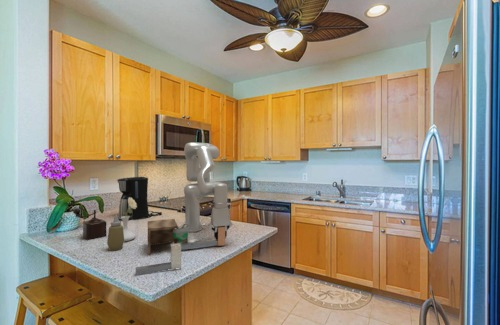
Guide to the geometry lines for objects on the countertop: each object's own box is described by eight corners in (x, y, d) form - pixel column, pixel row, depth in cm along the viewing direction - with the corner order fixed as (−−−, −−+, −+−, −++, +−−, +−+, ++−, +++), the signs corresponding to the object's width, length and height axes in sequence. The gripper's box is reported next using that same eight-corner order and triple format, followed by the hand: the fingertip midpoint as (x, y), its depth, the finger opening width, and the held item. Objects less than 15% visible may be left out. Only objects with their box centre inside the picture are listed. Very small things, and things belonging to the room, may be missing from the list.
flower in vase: (124, 244, 136) (124, 199, 136) (109, 241, 140) (109, 198, 140) (142, 237, 148) (142, 196, 148) (128, 235, 152) (128, 195, 152)
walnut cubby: (174, 241, 141) (174, 218, 141) (177, 251, 125) (177, 225, 125) (147, 244, 135) (147, 221, 135) (147, 255, 120) (147, 228, 120)
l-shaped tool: (179, 265, 109) (180, 243, 109) (181, 268, 105) (181, 245, 105) (135, 272, 101) (135, 248, 101) (135, 276, 98) (135, 251, 98)
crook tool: (219, 238, 143) (219, 221, 143) (225, 244, 133) (225, 226, 133) (176, 243, 134) (176, 225, 134) (178, 251, 123) (178, 231, 123)
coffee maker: (112, 218, 198) (112, 177, 198) (150, 211, 223) (150, 175, 223) (125, 222, 184) (125, 178, 184) (163, 215, 209) (163, 176, 209)
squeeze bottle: (112, 252, 123) (112, 217, 123) (103, 249, 127) (104, 215, 127) (127, 248, 130) (127, 214, 130) (119, 245, 134) (119, 212, 134)
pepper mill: (101, 232, 157) (101, 205, 157) (106, 236, 150) (107, 207, 149) (72, 238, 145) (72, 208, 145) (76, 242, 138) (77, 211, 138)
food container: (182, 248, 130) (183, 229, 130) (172, 247, 131) (172, 229, 131) (193, 241, 142) (193, 224, 142) (183, 240, 143) (183, 223, 143)
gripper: (232, 203, 141) (232, 234, 141) (204, 205, 134) (204, 238, 134) (237, 205, 134) (236, 238, 134) (207, 207, 127) (207, 242, 127)
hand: (220, 238), depth 134 cm, fingers closed on crook tool, 4 cm apart
